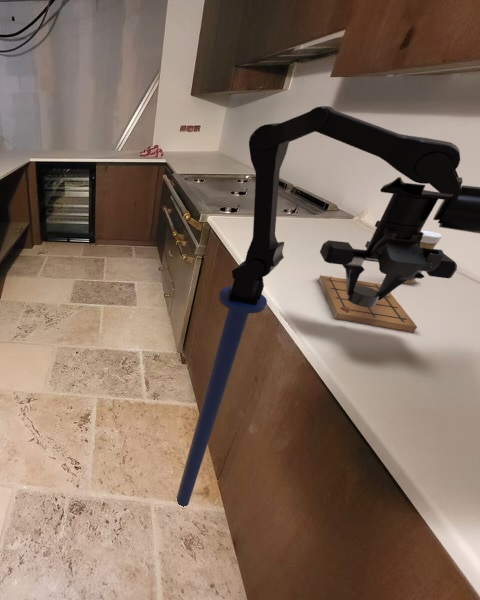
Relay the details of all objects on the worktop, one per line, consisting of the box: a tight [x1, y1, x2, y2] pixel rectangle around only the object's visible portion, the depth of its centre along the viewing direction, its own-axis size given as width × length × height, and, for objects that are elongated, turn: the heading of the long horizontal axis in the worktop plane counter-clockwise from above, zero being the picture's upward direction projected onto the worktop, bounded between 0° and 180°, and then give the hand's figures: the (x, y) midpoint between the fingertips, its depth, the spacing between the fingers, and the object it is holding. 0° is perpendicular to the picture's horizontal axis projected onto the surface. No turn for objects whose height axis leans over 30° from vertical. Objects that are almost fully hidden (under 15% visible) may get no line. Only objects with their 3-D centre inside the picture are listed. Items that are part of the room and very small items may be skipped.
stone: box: [347, 286, 380, 307], centre depth 65 cm, size 5×5×2 cm
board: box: [317, 275, 418, 333], centre depth 77 cm, size 14×20×2 cm
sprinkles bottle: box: [403, 230, 443, 285], centre depth 84 cm, size 5×5×14 cm
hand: (362, 296), depth 65 cm, fingers closed on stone, 4 cm apart
